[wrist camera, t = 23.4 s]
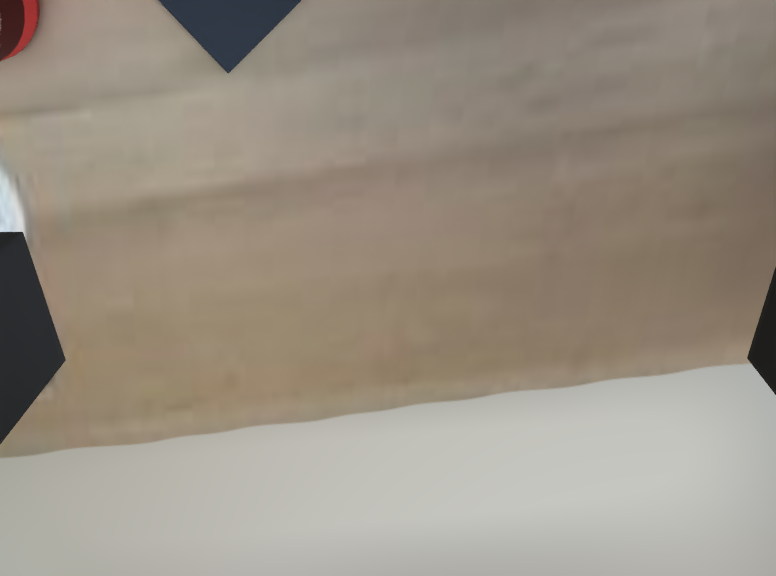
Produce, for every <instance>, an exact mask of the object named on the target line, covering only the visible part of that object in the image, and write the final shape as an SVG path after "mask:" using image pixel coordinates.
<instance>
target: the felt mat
mask: <svg viewBox="0 0 776 576" xmlns="http://www.w3.org/2000/svg"><path fill="white" fill-rule="evenodd" d="M159 1H160V2H161V4H162V5H163V6H164V7H165V8H166V9H167V10H168V11H169V12H170V13H171V14H172V15H173V16H174V17H175V18H176V19H177V20H178V21H179V22H180V23H181V24H182V26H183V27H184V28H185V29H186V30H187V31H188V32H189V33H190V34H191V35H192V36H193V37H194V38H195V39H196V40H197V41H198V42H199V43H200V44H201V45H202V47H203V48H204V49H205V50H206V51H207V52H208V53H209V54H210V55H211V56H212V57H213V58H214V59H215V60H216V61H217V62H218V63H219V64H220V65H221V66H222V68H223V69H224V70H225V71H226V72H227V73H229V72H230V71H231V70H232V69H233V68H234V67H235V66H236V65H237V64H238V63H239V62H240V61H241V60H242V59H243V58H244V57H245V56H246V55H247V54H248V53H249V52H250V51H251V50H252V49H253V48H254V47H255V46H256V45H257V44H258V43H259V42H260V41H261V40H262V39H263V38H264V37H265V36H266V35H267V34H268V33H269V32H270V31H271V30H272V29H273V28H274V27H275V26H276V25H277V24H278V23H279V22H280V21H281V20H282V19H283V18H284V17H285V16H286V15H287V14H288V13H289V12H290V11H291V10H292V9H293V8H294V7H295V6H296V5H297V4H298V3H299V2H300V1H301V0H159Z"/></svg>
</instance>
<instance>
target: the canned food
mask: <svg viewBox="0 0 776 576" xmlns="http://www.w3.org/2000/svg"><path fill="white" fill-rule="evenodd" d="M38 19H39V1H38V0H0V61H2V60H4V59H7V58H10V57H12V56H14V55H16V54H17V53H18V52H20V51H21V50H23V48H24V47H25V46H26V45H27V44H28V42H29V41H30V40H31V38H32V36H33V34H34V32H35V30H36V27H37V24H38Z"/></svg>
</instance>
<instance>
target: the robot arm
mask: <svg viewBox="0 0 776 576" xmlns="http://www.w3.org/2000/svg"><path fill="white" fill-rule="evenodd" d="M747 358H748V360H749V361H750V362H751V364H752V365H753V366H754V367H755V369H756V370H757V371H758V373H759V374H760V375H761V376H762V378H763V379H764V380H765V382H766V383H767V384H768V386H769V387H770V388H771V389H772V391H773V392H774V393H775V395H776V268H775V271H774V274H773V277H772V280H771V284H770V287H769V290H768V293H767V296H766V300H765V303H764V306H763V309H762V312H761V316H760V319H759V322H758V325H757V328H756V332H755V335H754V338H753V341H752V344H751V348H750V351H749V354H748V357H747ZM64 362H65V357H64V354H63V351H62V348H61V345H60V342H59V339H58V336H57V333H56V330H55V327H54V324H53V321H52V318H51V315H50V312H49V309H48V306H47V303H46V300H45V297H44V294H43V291H42V288H41V285H40V282H39V279H38V276H37V273H36V270H35V267H34V264H33V261H32V258H31V255H30V252H29V249H28V246H27V243H26V240H25V237H24V234H23V232H0V444H1V443H2V441H3V440H4V439H5V438H6V436H7V435H8V434H9V432H10V431H11V430H12V429H13V427H14V426H15V425H16V423H17V422H18V421H19V419H20V418H21V417H22V416H23V414H24V413H25V412H26V410H27V409H28V408H29V407H30V405H31V404H32V403H33V401H34V400H35V399H36V398H37V396H38V395H39V394H40V392H41V391H42V390H43V389H44V387H45V386H46V385H47V383H48V382H49V381H50V380H51V378H52V377H53V376H54V374H55V373H56V372H57V371H58V369H59V368H60V367H61V365H62V364H63V363H64Z"/></svg>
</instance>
